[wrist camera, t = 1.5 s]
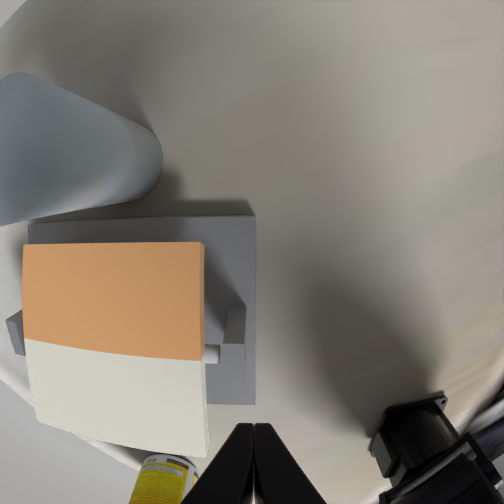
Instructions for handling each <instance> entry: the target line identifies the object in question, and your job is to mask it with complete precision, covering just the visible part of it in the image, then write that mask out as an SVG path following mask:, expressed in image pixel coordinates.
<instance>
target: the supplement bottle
mask: <svg viewBox="0 0 504 504" xmlns="http://www.w3.org/2000/svg"><path fill="white" fill-rule="evenodd" d="M198 479H199V474H198V472H197V470H196V468H195V467H194V466H193V465H191V464H190V463H189V462H187V461H185V460H183V459H181V458H178V457H175V456H172V455H166V454H156V455H152V456H149V457H148V458H146V459H145V461H144V463H143V465H142V468H141V470H140V473H139V476H138V479H137V482H136V484H135V487H134V490H133V493H132V496H131V498H130V501H129V504H180V502H181V501H182V500H183V498H184V497H185V496H186V495H187V493H188V492H189V491H190V489H191V488H192V487H193V485H194V484H195V483H196V481H197V480H198Z"/></svg>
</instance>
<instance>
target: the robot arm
mask: <svg viewBox="0 0 504 504" xmlns="http://www.w3.org/2000/svg"><path fill="white" fill-rule="evenodd" d="M447 401H448V398H447V397H446V396H445V395H443V396H439V397H435V398H431V399H427V400H422V401H418V402H413V403H409V404H404V405H399V406H393V407H389V408H388V409H387V410H386V411H385V413H384V416H383V419H382V422H381V425H380V428H379V429H378V431H377V433H376V436H375V439H374V442H373V444H372V450H371V452H370V454H371V456H372V457H375V458H376V460H377V463H378V465H379V468H380V471H381V473H382V476H383V477H384V478H389V479H390V482H391V484H392V487H393V488H391V489H390V490H388V491H386V492H383V493H381V494H379V501H380V502H379V504H504V498H503V496H502V495H501V493H500V492H499V490H498V489H499V488H500V487H502V486H503V485H504V480H503V478H502V477H501V476H500V474H499V472H498V471H497V469H496V468H495V466H494V465H493V463H492V462H491V460H490V459H489V458H488V456H487V455H486V453H485V452H484V451H483V449H482V448H481V446H480V445H479V444H478V443H477V441H476V440H475V439H474V437H473V436H472V435H471V434H470V432H469V431H467V432H466V433H464V434H463V436H462V437H460V435H459V434H458V433H457V431H456V430H455V428H454V427H453V425H452V424H451V423H450V421H449V420H448V419H447V417H446V416H445V414H444V413H443V410H444V408H445V406H446V403H447ZM472 459H473V460H472ZM253 491H254V496H255V504H327V503H326V502H325V501H324V499H323V498H322V497H321V495H320V494H319V493H318V491H317V490H316V489H315V487H314V486H313V485H312V483H311V482H310V481H309V479H308V478H307V476H306V475H305V474H304V472H303V471H302V469H301V468H300V467H299V465H298V464H297V462H296V461H295V459H294V458H293V456H292V455H291V454H290V452H289V451H288V449H287V448H286V446H285V445H284V443H283V442H282V440H281V439H280V437H279V436H278V434H277V433H276V431H275V430H274V428H273V427H272V425H271V424H270V423H256V424H255V425H253V424H252V423H238V424H237V425H236V427H235V428H234V430H233V431H232V432H231V434H230V435H229V437H228V438H227V440H226V441H225V443H224V444H223V446H222V447H221V448H220V450H219V451H218V453H217V454H216V455H215V457H214V458H213V460H212V461H211V462H210V464H209V465H208V467H207V468H206V469H205V471H204V472H203V473H202V475H201V476H200V477H199V479H198V480H197V481H196V483H195V484H194V485H193V487H192V488H191V489H190V491H189V492H188V493H187V495H186V496H185V497H184V498H183V500H182V501H181V502H180V504H252V501H253Z"/></svg>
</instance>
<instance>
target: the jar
mask: <svg viewBox="0 0 504 504" xmlns="http://www.w3.org/2000/svg"><path fill="white" fill-rule="evenodd" d="M162 163H163V155H162V149H161V146H160V143H159V141H158V139H157V138H156V136H155V135H154V134H153V133H152V132H151V131H150V130H149V129H147V128H145V127H144V126H142V125H140V124H138V123H136V122H134V121H132V120H130V119H128V118H126V117H124V116H121V115H119V114H117V113H115V112H113V111H111V110H109V109H107V108H105V107H103V106H101V105H98V104H96V103H94V102H92V101H90V100H88V99H85V98H83V97H81V96H79V95H77V94H74V93H72V92H70V91H68V90H65V89H63V88H61V87H59V86H56V85H54V84H52V83H49V82H47V81H45V80H42V79H40V78H37V77H35V76H32V75H30V74H27V73H14V74H11V75H8V76H6V77H4V78H2V79H1V80H0V226H4V225H8V224H12V223H17V222H21V221H26V220H31V219H35V218H40V217H45V216H50V215H55V214H60V213H65V212H71V211H76V210H82V209H87V208H93V207H99V206H105V205H111V204H118V203H124V202H131V201H134V200H137V199H139V198H141V197H143V196H144V195H146V194H147V193H148V192H149V191H150V190H151V189H152V188H153V186H154V185H155V184H156V182H157V180H158V178H159V176H160V173H161V170H162Z"/></svg>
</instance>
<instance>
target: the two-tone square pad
mask: <svg viewBox="0 0 504 504" xmlns="http://www.w3.org/2000/svg"><path fill="white" fill-rule="evenodd" d="M22 312H23V330H24V342H25V352H26V361H27V368H28V375H29V381H30V387H31V393H32V398H33V403H34V408H35V412H36V417H37V421H39V422H42V423H44V424H47V425H50V426H53V427H56V428H59V429H62V430H65V431H68V432H71V433H75V434H78V435H81V436H85V437H89V438H92V439H96V440H100V441H104V442H108V443H113V444H117V445H122V446H126V447H131V448H137V449H142V450H148V451H154V452H160V453H167V454H175V455H184V456H193V457H205V458H206V456H207V452H208V449H209V438H208V420H207V400H206V375H205V363H210V364H220V358H221V349H220V345H216V344H205V337H204V244H202V243H201V242H135V243H73V244H27V245H24V246H23V264H22Z"/></svg>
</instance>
